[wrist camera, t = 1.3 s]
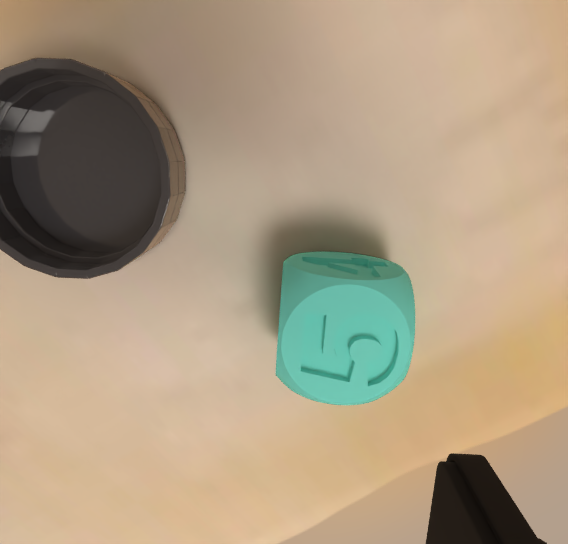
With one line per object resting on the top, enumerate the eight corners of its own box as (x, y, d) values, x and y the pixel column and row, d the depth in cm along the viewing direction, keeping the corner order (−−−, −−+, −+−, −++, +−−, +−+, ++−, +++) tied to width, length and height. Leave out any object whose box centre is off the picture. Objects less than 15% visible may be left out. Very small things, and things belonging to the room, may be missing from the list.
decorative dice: (284, 247, 33) (282, 275, 25) (392, 255, 32) (423, 285, 25) (278, 347, 35) (273, 402, 27) (379, 354, 35) (404, 411, 27)
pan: (149, 47, 29) (124, 27, 25) (211, 236, 32) (198, 248, 28) (-30, 104, 30) (-83, 96, 26) (47, 281, 34) (10, 300, 29)
